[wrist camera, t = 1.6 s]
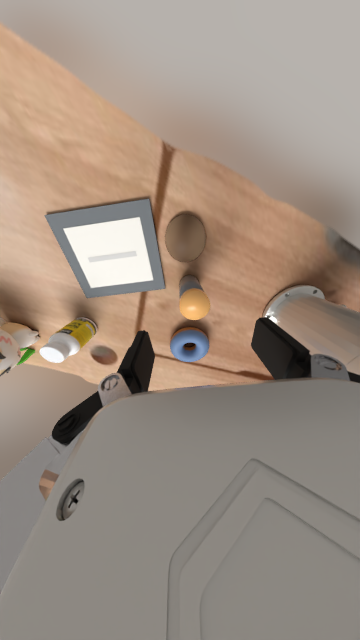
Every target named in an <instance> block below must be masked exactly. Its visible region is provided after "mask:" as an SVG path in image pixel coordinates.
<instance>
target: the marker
mask: <svg viewBox="0 0 360 640" xmlns="http://www.w3.org/2000/svg"><path fill="white" fill-rule="evenodd" d="M179 288H180V311H181V313H182V315H183V316H184V317H186V318H187V319H190V320H198V319H201V318H203V317H204V316H205V315H206V314H207V313H208V311H209V309H210V301H209V299H208V297H207V295H206V294H205V292H204V291H203V289H202V287H201V285H200V284H199V282H198V280H197V279H196V277H194V276H192V275H187V276H184V277H183V278H182V279H181V281H180V284H179Z"/></svg>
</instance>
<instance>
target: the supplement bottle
mask: <svg viewBox="0 0 360 640" xmlns="http://www.w3.org/2000/svg"><path fill="white" fill-rule="evenodd" d="M96 332H97V327H96V325H95V323H94V322H93V321H91V320H90V319H88V318H84V317H80V318H77V319H75V320H74V321H72V322H71V323H69V324H68V325H66V326H65V327H63V328H62V329H61V330H59V331H58V332H56V333H55V334H53V335H52V336H51V337H50V338H49V343H47V344H46V345H45V346H43V347H42V348H41V349H40V354H41V356H42V357H43V358H45V359H46V360H48V361H50V362H54V363H60V362H62V361H64V360H65V359H66V358H67V357H68V356H69V355H73V354H76V353H77V352H78V351H79V350H80V349H81V348H82V347H83V346H84V345H85V344H86V343H87V342H88V341H89V340H90V339H91V338H92V337H93V336H94V335H95V334H96Z"/></svg>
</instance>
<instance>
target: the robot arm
mask: <svg viewBox="0 0 360 640" xmlns="http://www.w3.org/2000/svg"><path fill="white" fill-rule="evenodd" d="M251 346H252V349H253V350H254V351H255V353H256V354H257V355H258V357H259V358H260V360H261V361H262V362H263V364H264V365H265V366H266V368H267V369H268V371H269V372H270V373H271V375H272V376H273V377H274V379H275V380H266V381H254V382H242V383H230V384H219V385H207V386H196V387H185V388H175V389H165V390H156V391H148V387H149V383H150V378H151V373H152V368H153V363H154V358H155V355H154V351H153V348H152V344H151V341H150V338H149V335H148V332H146V331H145V330H144V331H138V332H137V335H136V337H135V339H134V341H133V343H132V345H131V347H129V349H128V351H127V353H126V355H125V357H124V359H123V361H122V363H121V365H120V367H119V369H118V371H117V373H112V374H110V375H108V376H106V377H105V378H104V379H103V380H102V381H101V382H100V384H99V386H98V391H97V392H96V393H94V394H93V395H92V396H90V397H89V398H87V399H86V400H85V401H83V402H82V403H81V404H79V405H78V406H76V407H75V408H73V409H72V410H71V411H69V412H68V413H67V414H65V415H64V416H63V417H62V418H61V419H60V420H59V421H58V422H57V423H56V425H55V427H54V429H53V431H52V435H51V436H50V437H49V438H46V437H45V438H44V439H43V440H42V441H41V442H40V443H39V444H38V445H37V446H36V447H35V448H34V449H33V450H32V451H31V452H30V453H29V454H28V455H27V456H26V457H25V458H24V459H23V460H21V461H20V463H18V464H17V465H16V466H15V467H14V468H13V469H12V470H11V471H10V472H9V473H8V474H7V475H6V476H5V477H4V478H3V479H2V480H1V481H0V640H360V312H357V311H354V310H352V309H349V308H347V307H346V306H345V305H338V304H335V303H332V302H330V301H327V300H325V297H324V294H323V292H322V291H321V290H320V289H318V288H316V287H313V286H310V285H297V286H294V287H291V288H288V289H286V290H284V291H282V292H281V293H279V294H278V295H277V296H275V297H274V298H273V299H272V300H271V301H270V302H269V304H268V305H267V307H266V309H265V311H264V313H263V318H259V319H258V320H257V321H256V324H255V329H254V334H253V338H252V343H251Z"/></svg>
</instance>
